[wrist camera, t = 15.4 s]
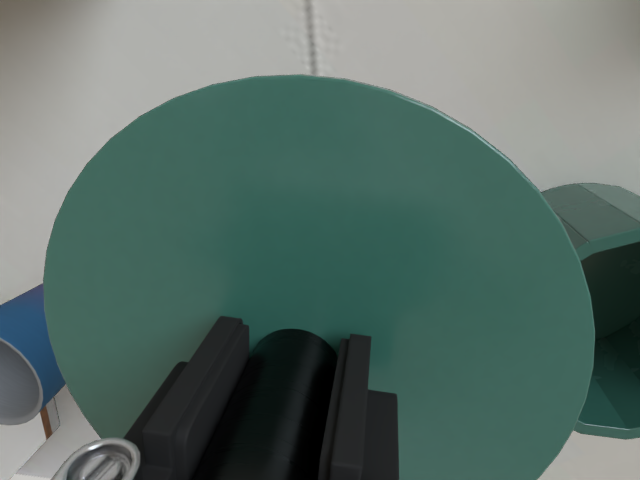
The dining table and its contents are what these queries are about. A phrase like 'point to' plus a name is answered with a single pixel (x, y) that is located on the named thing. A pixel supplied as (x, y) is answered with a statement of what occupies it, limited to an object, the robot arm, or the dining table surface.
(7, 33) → the dining table surface
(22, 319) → the cup
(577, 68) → the dining table surface
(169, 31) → the dining table surface
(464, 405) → the pot lid
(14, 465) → the display case
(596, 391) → the pot
